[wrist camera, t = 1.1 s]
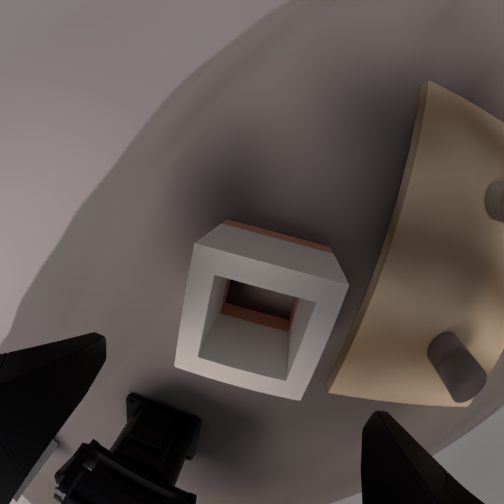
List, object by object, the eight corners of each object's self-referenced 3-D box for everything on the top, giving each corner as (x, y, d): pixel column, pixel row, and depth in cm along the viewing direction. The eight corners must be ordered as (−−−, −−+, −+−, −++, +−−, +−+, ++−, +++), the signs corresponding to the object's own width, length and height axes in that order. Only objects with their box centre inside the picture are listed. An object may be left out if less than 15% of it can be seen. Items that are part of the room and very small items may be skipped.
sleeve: (299, 337, 18) (300, 401, 12) (207, 312, 19) (174, 366, 13) (330, 247, 17) (349, 284, 11) (227, 219, 17) (194, 243, 11)
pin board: (462, 398, 18) (487, 441, 13) (327, 381, 19) (333, 441, 14) (550, 167, 13) (599, 172, 7) (420, 85, 13) (466, 56, 8)
